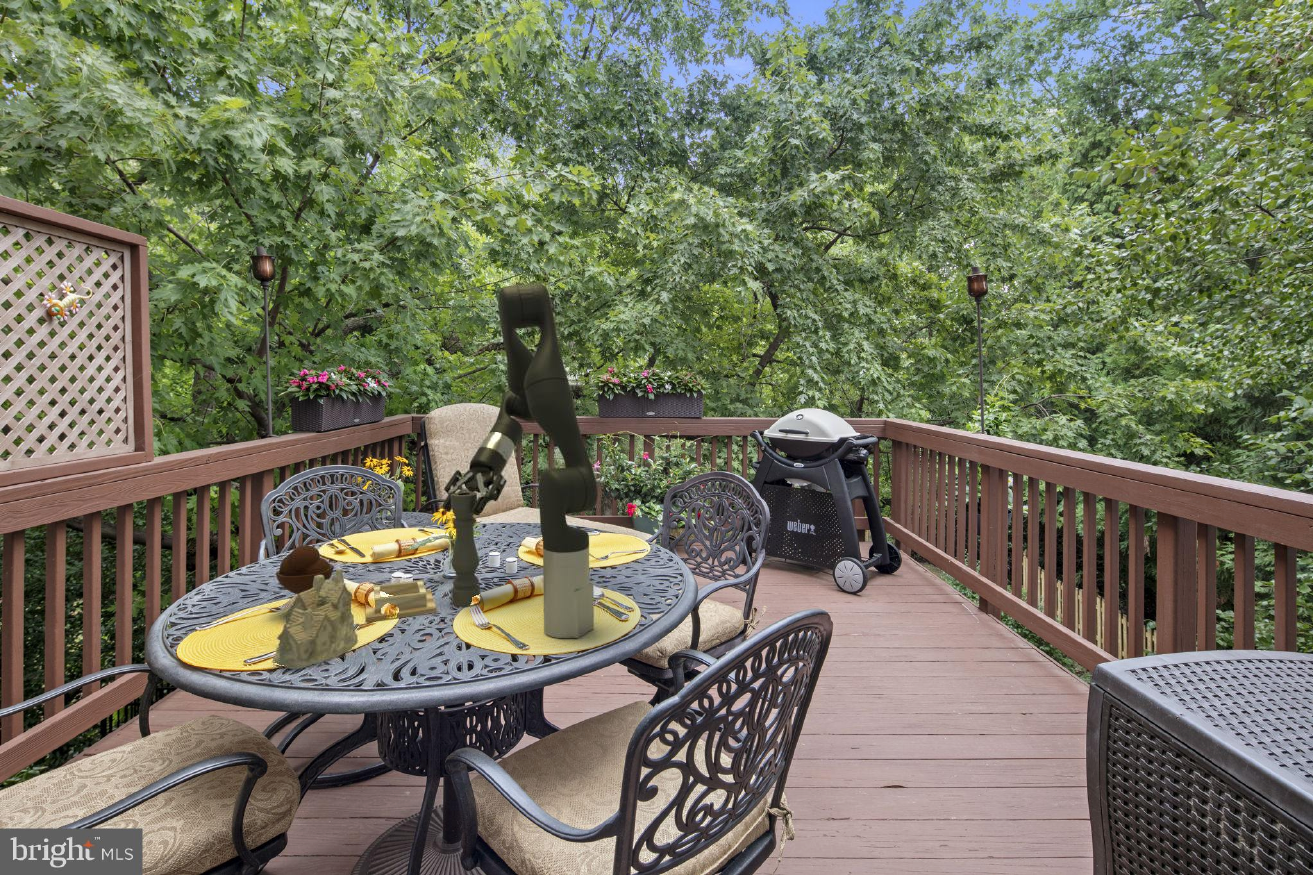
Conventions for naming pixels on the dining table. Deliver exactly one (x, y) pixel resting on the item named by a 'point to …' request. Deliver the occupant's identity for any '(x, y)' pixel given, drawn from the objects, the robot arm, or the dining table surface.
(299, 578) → the ice cream bowl
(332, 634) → the ceramic cottage
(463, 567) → the candle holder
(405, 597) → the socket base
